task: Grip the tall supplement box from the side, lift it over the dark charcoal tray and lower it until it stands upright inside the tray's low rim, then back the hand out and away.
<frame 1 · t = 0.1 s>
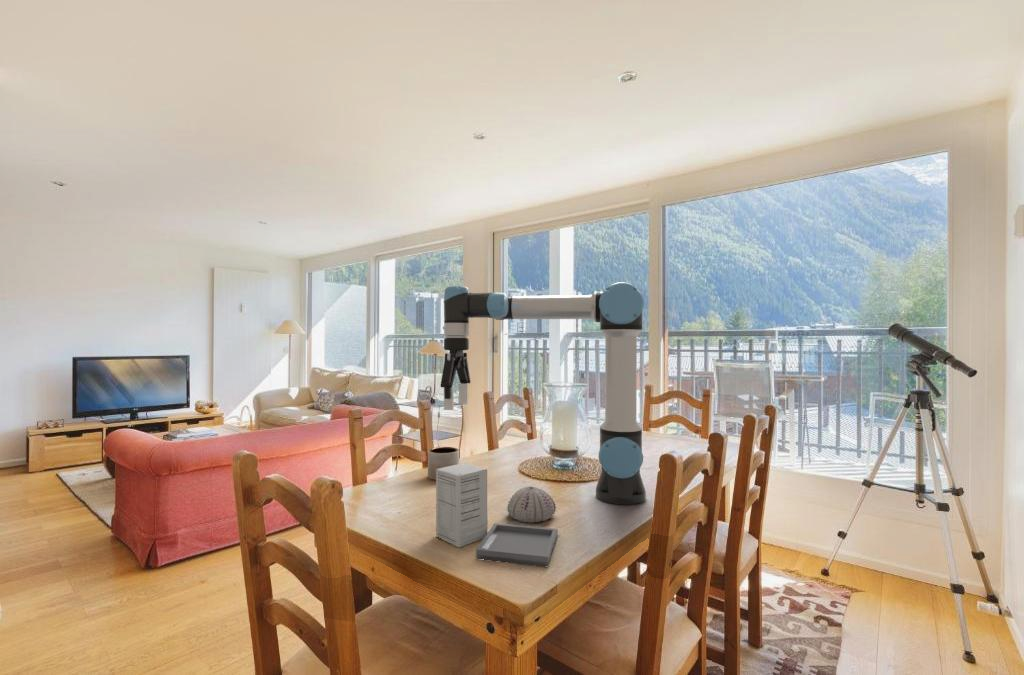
hand: (456, 407, 151), 28 cm above the table, tool pointing down, fingers open, 13 cm apart
planter: (443, 477, 174), on the table
supplement box: (461, 538, 121), on the table
sea urchin shell: (530, 517, 136), on the table
tray: (518, 548, 115), on the table
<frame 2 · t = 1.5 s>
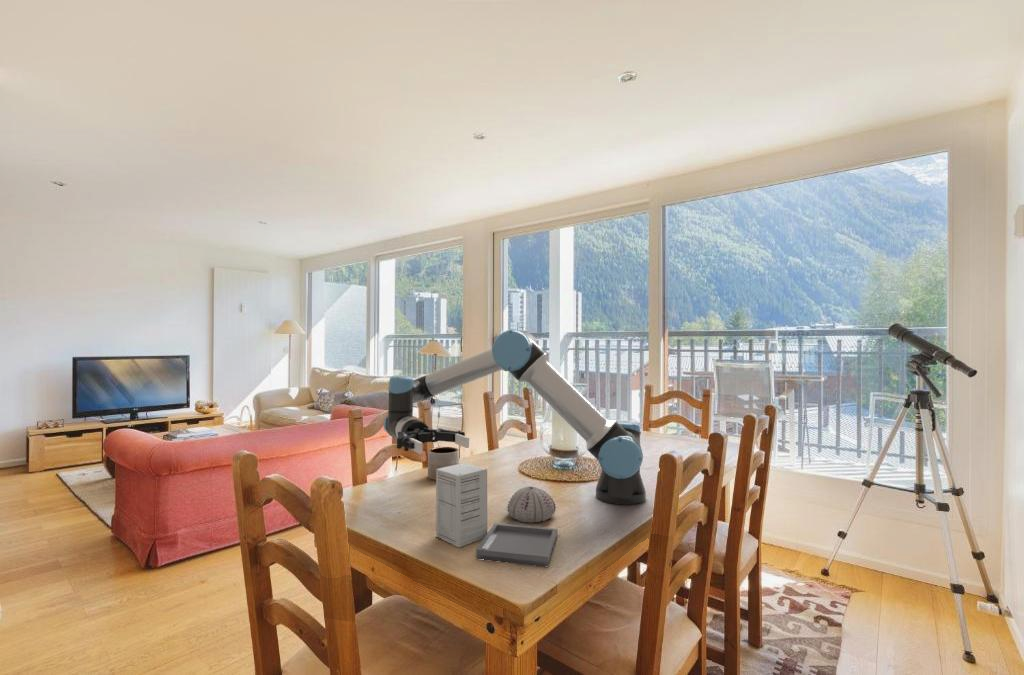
hand: (445, 445, 129), 21 cm above the table, tool horizontal, fingers open, 13 cm apart
nothing on the table moved.
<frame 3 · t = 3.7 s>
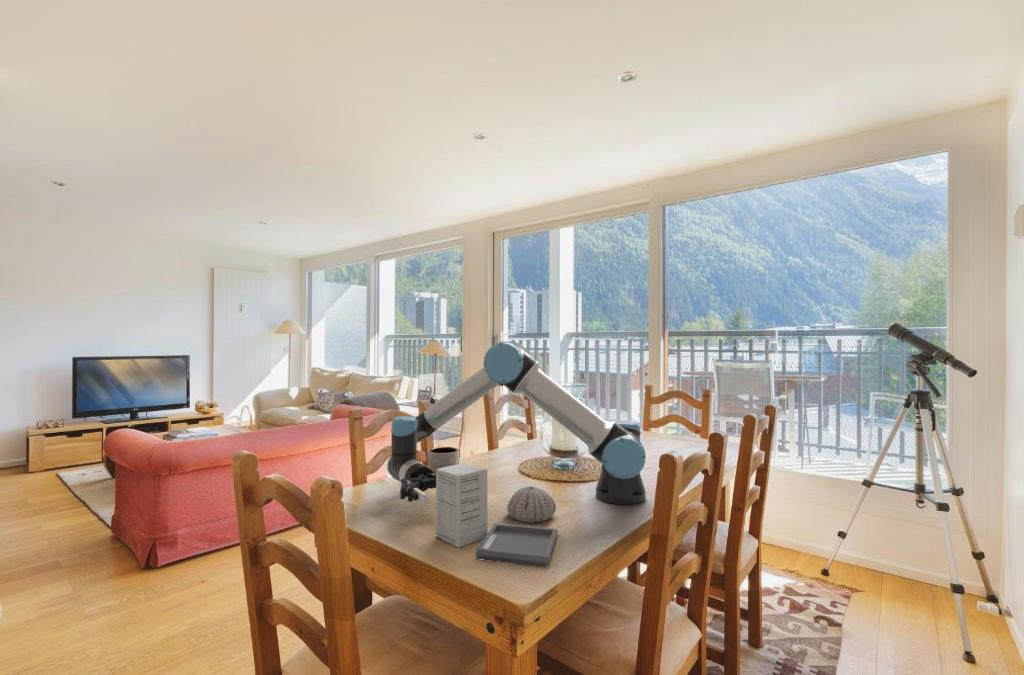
hand: (450, 495, 125), 9 cm above the table, tool horizontal, fingers open, 13 cm apart
nothing on the table moved.
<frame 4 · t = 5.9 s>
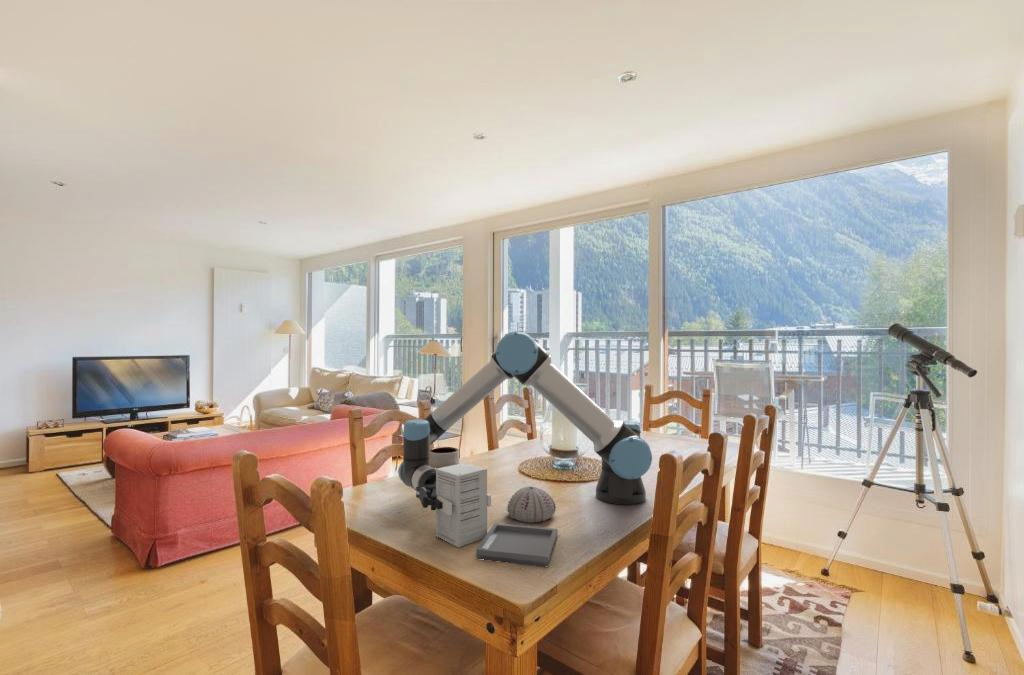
hand: (470, 505, 118), 9 cm above the table, tool horizontal, fingers closed on supplement box, 10 cm apart
supplement box: (461, 537, 121), on the table, touching gripper
everything else where it was.
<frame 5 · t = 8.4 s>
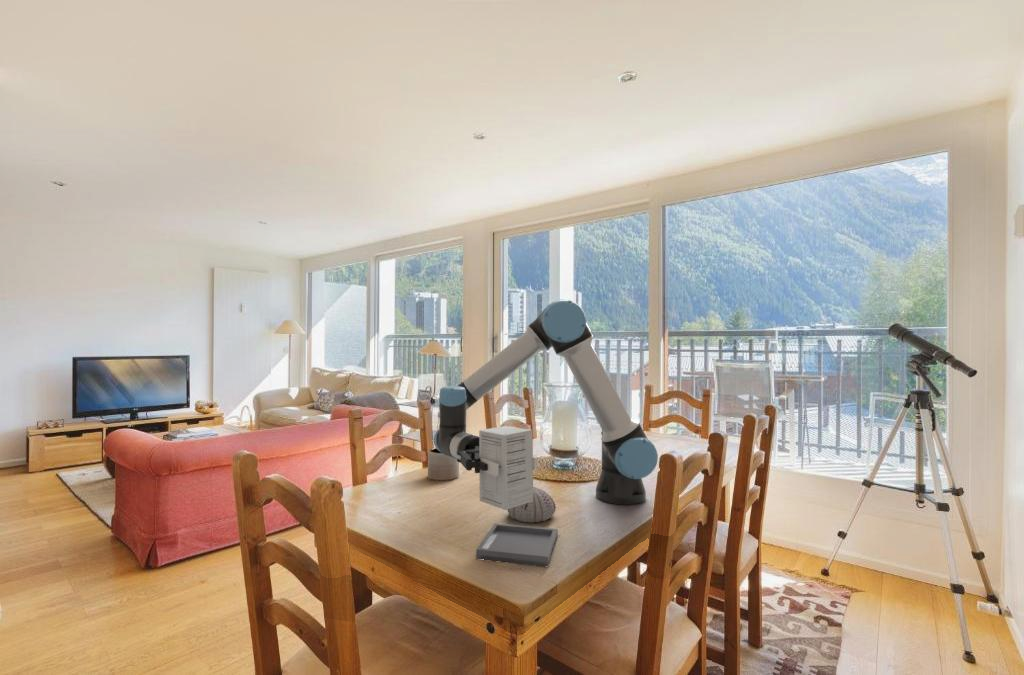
hand: (517, 466, 113), 20 cm above the table, tool horizontal, fingers closed on supplement box, 10 cm apart
supplement box: (506, 502, 116), point 10 cm above the table, touching gripper
everything else where it was.
when the fingers open (12 cm above the table, at t = 11.1 s): supplement box drops 2 cm, resting on tray.
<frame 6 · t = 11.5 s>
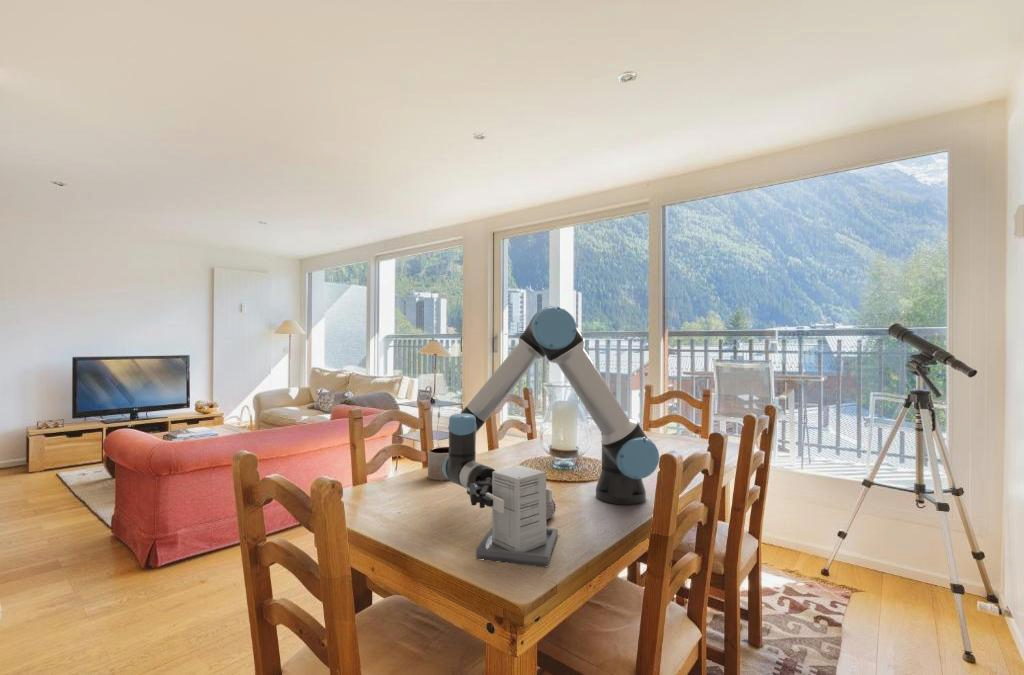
hand: (527, 501, 112), 12 cm above the table, tool horizontal, fingers open, 13 cm apart
supplement box: (519, 544, 115), point 1 cm above the table, touching tray
everything else where it was.
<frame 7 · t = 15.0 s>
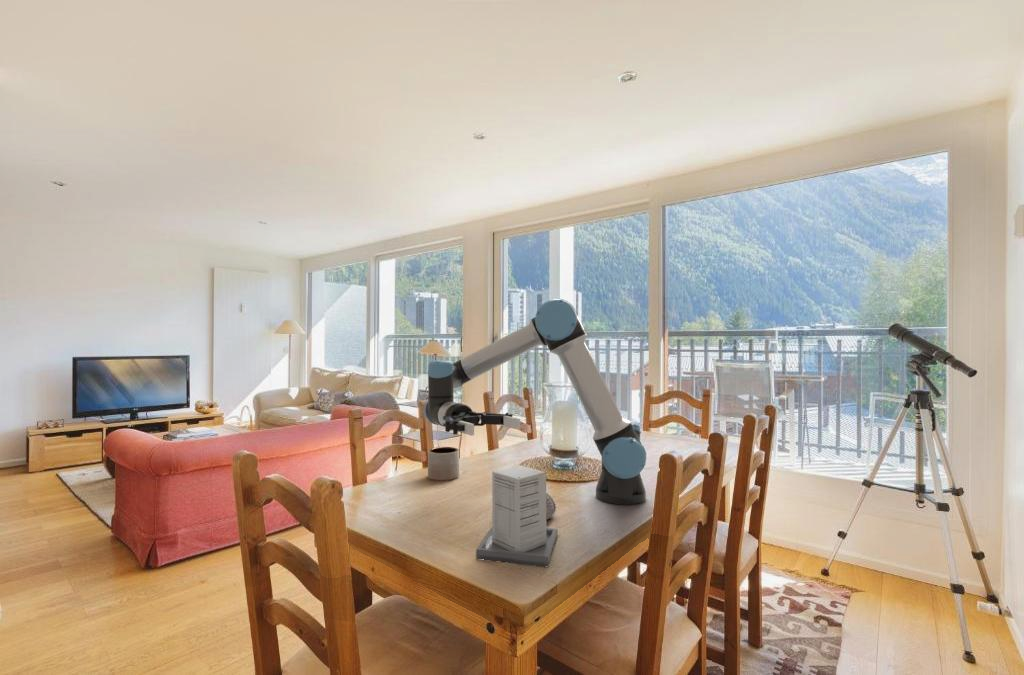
hand: (496, 426, 123), 27 cm above the table, tool horizontal, fingers open, 13 cm apart
nothing on the table moved.
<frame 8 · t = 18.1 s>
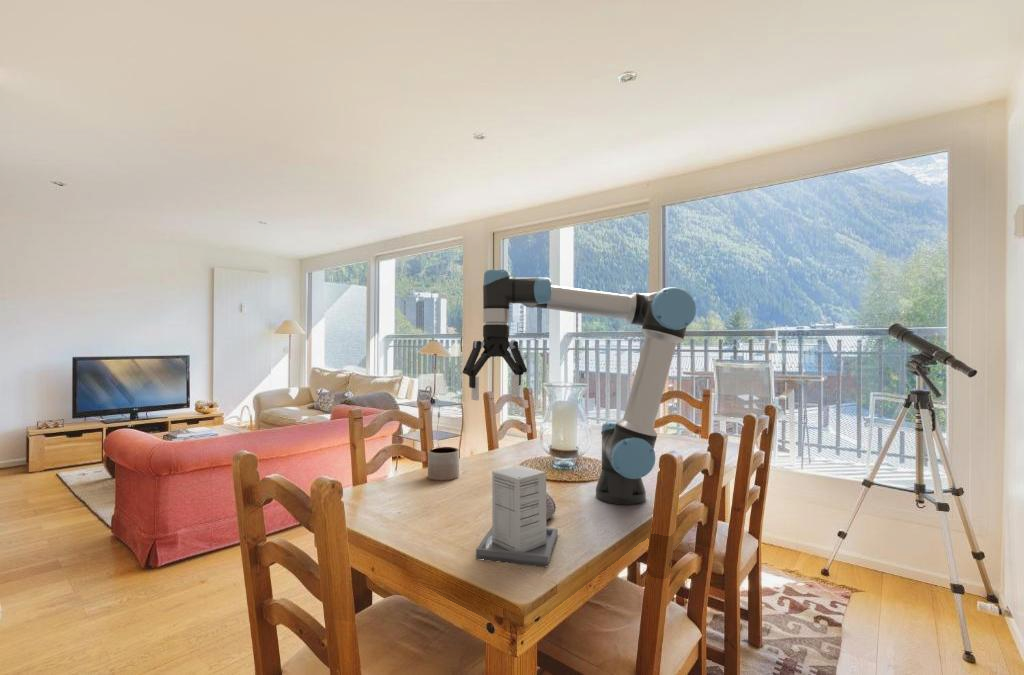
hand: (495, 398, 141), 32 cm above the table, tool pointing down, fingers open, 13 cm apart
nothing on the table moved.
at the end: supplement box 0.1 cm off-centre on the tray, point 0.8 cm above the tray's base; supplement box tilted 0°; the gripper is holding nothing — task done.
